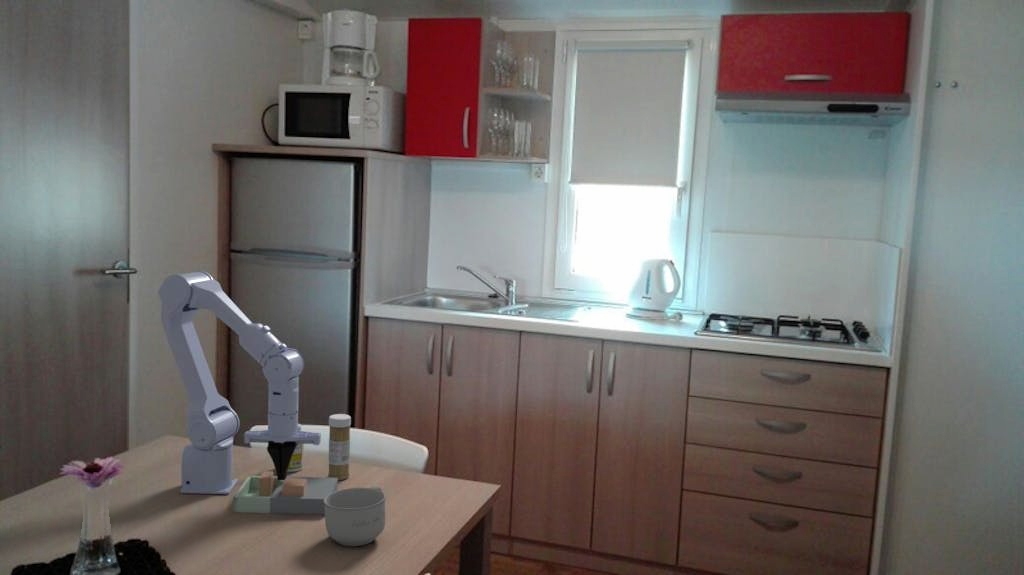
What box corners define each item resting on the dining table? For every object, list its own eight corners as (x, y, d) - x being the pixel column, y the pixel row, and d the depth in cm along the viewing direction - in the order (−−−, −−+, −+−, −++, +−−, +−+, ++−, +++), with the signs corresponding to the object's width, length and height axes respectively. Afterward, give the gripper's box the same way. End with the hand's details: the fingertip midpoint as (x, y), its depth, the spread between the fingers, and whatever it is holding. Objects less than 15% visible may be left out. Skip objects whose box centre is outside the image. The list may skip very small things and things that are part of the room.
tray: (233, 512, 161) (233, 497, 160) (248, 490, 173) (248, 475, 172) (269, 513, 161) (270, 497, 161) (282, 490, 173) (282, 476, 173)
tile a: (269, 497, 168) (259, 498, 167) (274, 490, 172) (264, 490, 171) (269, 478, 167) (258, 478, 167) (273, 471, 171) (263, 471, 171)
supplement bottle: (284, 463, 190) (285, 421, 189) (307, 465, 189) (308, 423, 188) (274, 471, 185) (274, 427, 183) (297, 473, 184) (298, 429, 183)
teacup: (356, 557, 144) (357, 512, 143) (309, 541, 149) (310, 497, 149) (408, 532, 156) (409, 489, 155) (363, 517, 161) (364, 476, 160)
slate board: (269, 513, 161) (270, 497, 161) (282, 490, 173) (282, 476, 173) (328, 514, 162) (329, 499, 162) (337, 492, 174) (337, 477, 173)
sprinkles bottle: (343, 472, 186) (344, 412, 184) (353, 478, 182) (354, 417, 181) (323, 476, 183) (325, 415, 181) (333, 482, 179) (335, 420, 178)
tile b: (282, 495, 162) (282, 485, 162) (286, 488, 166) (286, 478, 166) (303, 496, 162) (303, 486, 162) (307, 488, 166) (307, 478, 166)
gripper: (240, 415, 163) (239, 484, 165) (317, 418, 164) (315, 486, 166) (249, 406, 170) (248, 472, 172) (322, 408, 171) (321, 474, 173)
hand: (282, 478), depth 169 cm, fingers closed
